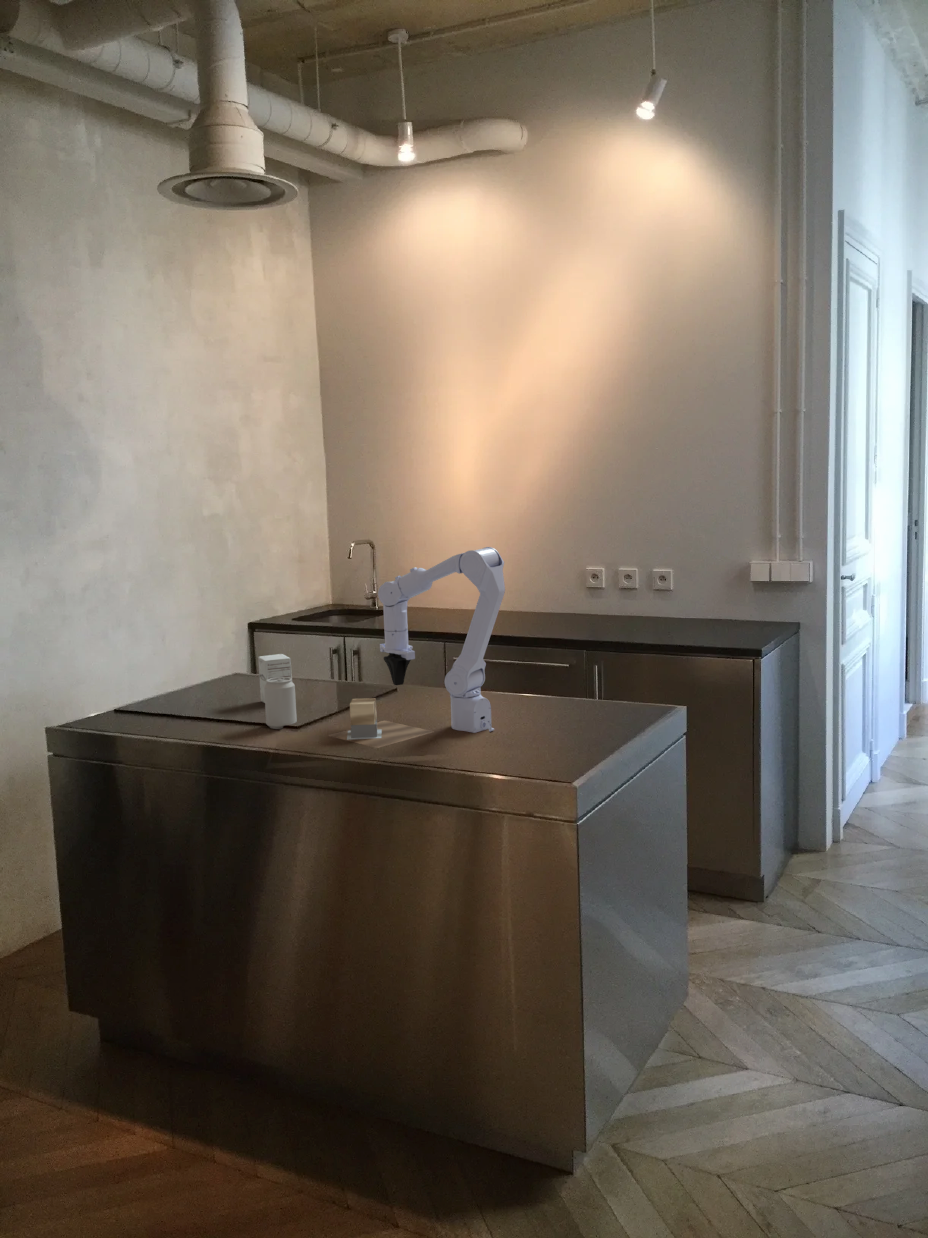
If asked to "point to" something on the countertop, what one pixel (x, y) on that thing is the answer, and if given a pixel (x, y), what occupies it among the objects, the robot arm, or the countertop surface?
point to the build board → (385, 734)
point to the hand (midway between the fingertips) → (398, 684)
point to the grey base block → (364, 731)
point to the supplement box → (273, 669)
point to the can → (280, 702)
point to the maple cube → (363, 711)
